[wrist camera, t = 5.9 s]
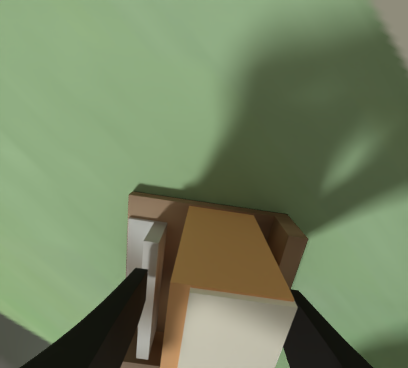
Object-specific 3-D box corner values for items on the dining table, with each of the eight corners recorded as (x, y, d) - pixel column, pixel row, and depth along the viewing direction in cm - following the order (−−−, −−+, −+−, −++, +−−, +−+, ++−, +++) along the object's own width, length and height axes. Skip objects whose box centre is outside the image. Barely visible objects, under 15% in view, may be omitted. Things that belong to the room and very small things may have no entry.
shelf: (247, 344, 16) (255, 388, 13) (126, 328, 16) (110, 370, 13) (287, 214, 13) (308, 238, 10) (132, 191, 12) (111, 210, 10)
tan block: (235, 291, 14) (255, 418, 8) (178, 283, 14) (154, 406, 8) (254, 215, 12) (298, 305, 6) (189, 205, 12) (169, 287, 6)
